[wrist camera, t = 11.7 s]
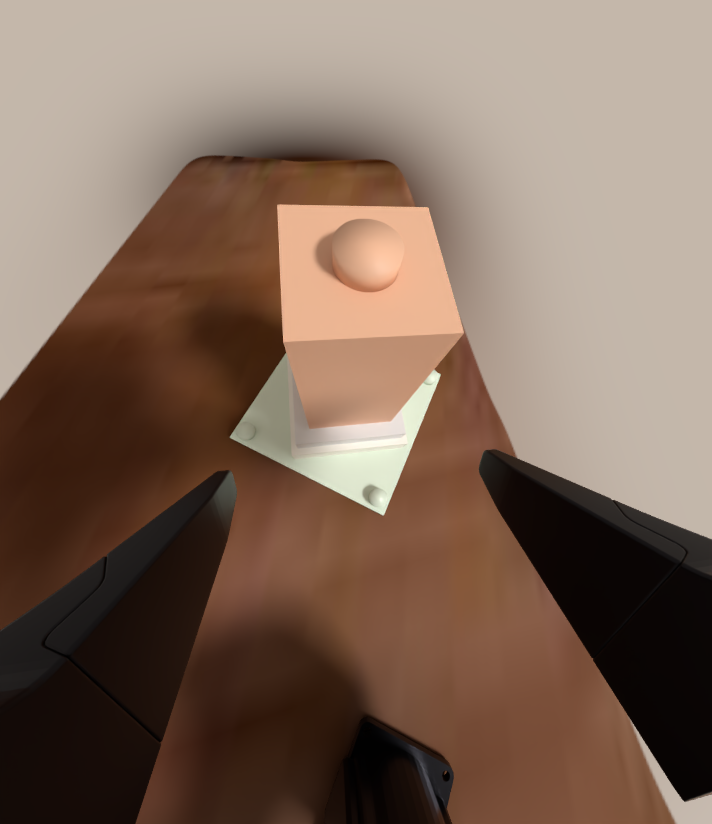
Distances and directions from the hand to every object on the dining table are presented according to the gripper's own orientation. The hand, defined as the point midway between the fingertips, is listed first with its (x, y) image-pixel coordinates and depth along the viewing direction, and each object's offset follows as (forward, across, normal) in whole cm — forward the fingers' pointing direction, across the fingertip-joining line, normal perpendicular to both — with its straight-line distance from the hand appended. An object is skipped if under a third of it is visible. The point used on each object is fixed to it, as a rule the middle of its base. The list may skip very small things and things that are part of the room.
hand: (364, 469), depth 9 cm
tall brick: (+11, 0, +1) cm, 11 cm away
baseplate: (+14, 0, +4) cm, 15 cm away
